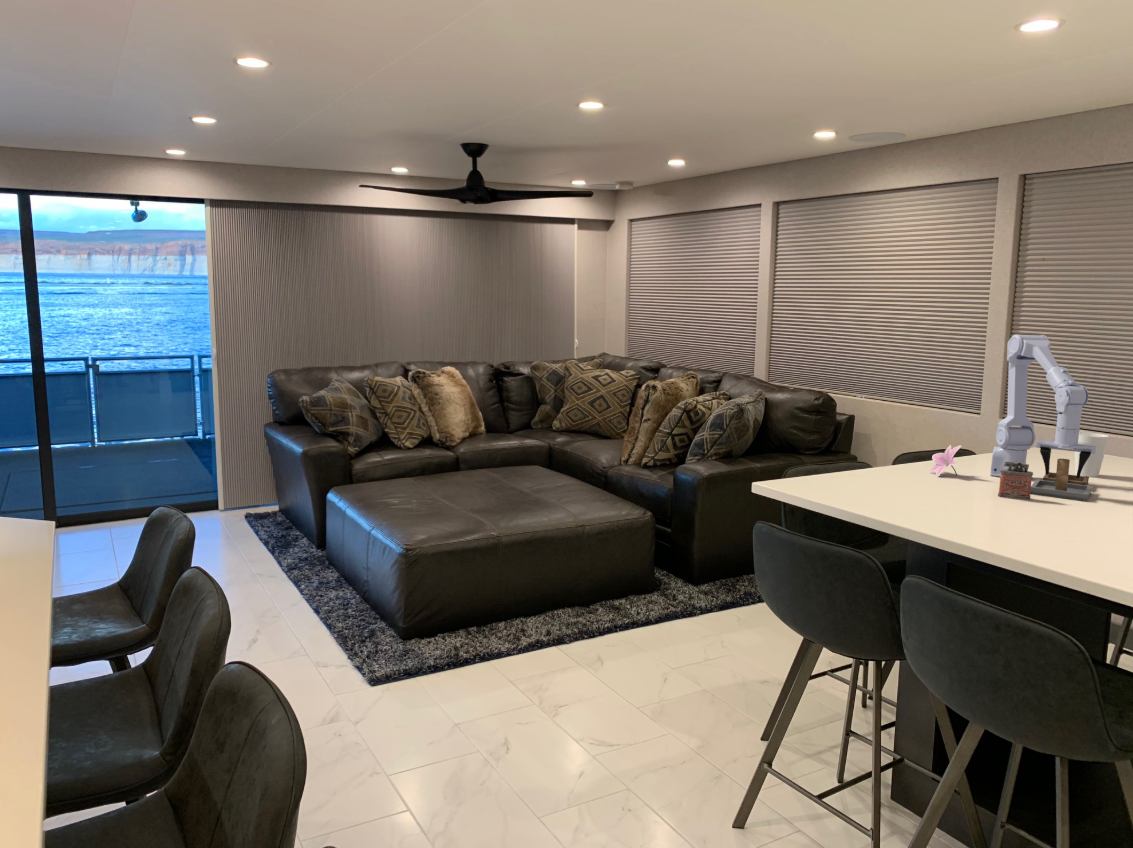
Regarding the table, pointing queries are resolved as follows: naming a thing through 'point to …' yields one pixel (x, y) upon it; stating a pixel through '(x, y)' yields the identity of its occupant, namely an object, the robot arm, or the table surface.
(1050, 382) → the robot arm
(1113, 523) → the table surface
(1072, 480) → the holder
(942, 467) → the lily
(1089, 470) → the foam cup
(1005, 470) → the lighter
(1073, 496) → the tray
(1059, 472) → the pin
